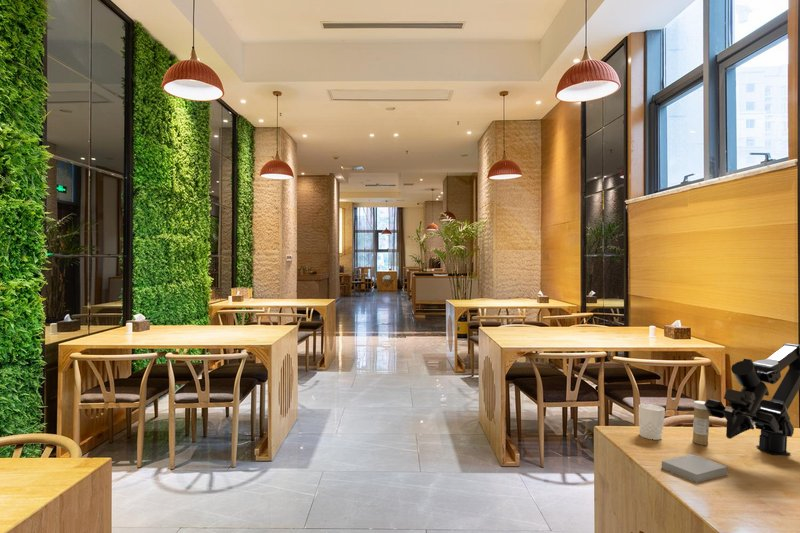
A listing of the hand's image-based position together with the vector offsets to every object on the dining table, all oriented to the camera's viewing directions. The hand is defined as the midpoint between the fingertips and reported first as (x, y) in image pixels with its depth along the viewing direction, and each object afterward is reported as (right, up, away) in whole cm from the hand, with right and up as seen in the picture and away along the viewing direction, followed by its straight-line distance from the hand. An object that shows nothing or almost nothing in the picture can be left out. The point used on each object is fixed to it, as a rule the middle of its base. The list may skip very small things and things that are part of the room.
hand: (728, 437), depth 147 cm
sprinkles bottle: (+2, -8, +17) cm, 19 cm away
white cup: (-12, -7, +21) cm, 26 cm away
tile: (-8, -6, -4) cm, 11 cm away
